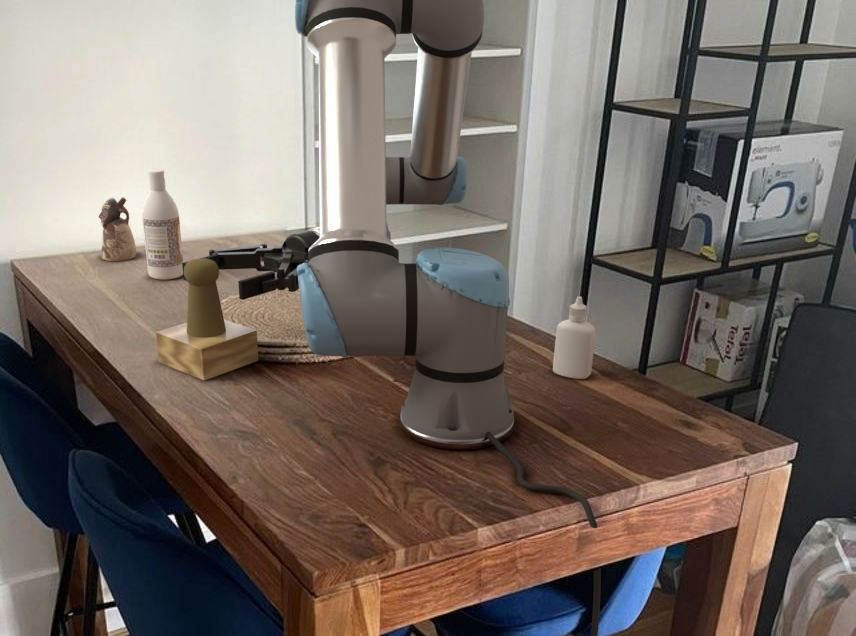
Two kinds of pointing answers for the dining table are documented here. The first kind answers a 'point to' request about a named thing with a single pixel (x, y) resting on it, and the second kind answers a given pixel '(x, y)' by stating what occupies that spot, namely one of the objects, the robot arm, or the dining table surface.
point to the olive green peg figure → (203, 299)
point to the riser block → (207, 350)
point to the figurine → (116, 232)
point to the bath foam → (161, 230)
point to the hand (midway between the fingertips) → (211, 281)
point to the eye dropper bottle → (574, 344)
